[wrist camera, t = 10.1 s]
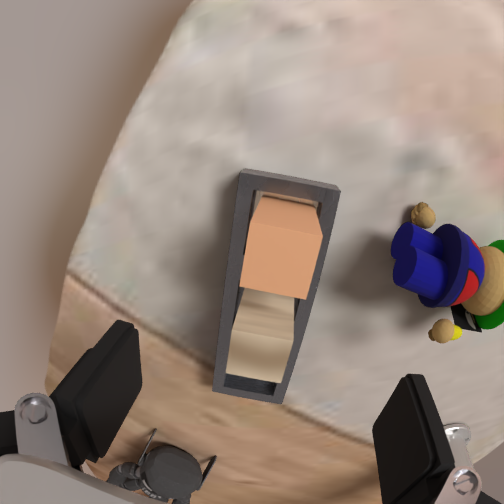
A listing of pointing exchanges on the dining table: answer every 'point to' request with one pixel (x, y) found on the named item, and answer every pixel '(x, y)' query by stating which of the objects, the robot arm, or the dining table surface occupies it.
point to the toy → (450, 274)
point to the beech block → (261, 336)
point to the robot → (162, 474)
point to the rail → (246, 204)
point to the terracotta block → (281, 248)
